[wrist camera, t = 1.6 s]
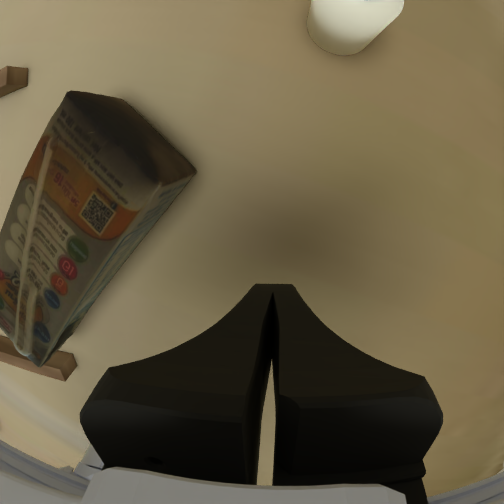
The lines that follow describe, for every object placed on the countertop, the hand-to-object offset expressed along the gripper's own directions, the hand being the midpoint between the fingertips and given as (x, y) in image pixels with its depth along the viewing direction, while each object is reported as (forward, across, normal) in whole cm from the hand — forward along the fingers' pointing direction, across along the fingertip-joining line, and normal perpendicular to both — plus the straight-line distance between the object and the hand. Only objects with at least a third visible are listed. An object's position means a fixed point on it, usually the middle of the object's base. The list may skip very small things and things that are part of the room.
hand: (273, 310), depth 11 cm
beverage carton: (+10, +14, 0) cm, 17 cm away
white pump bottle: (+10, -4, -13) cm, 17 cm away
